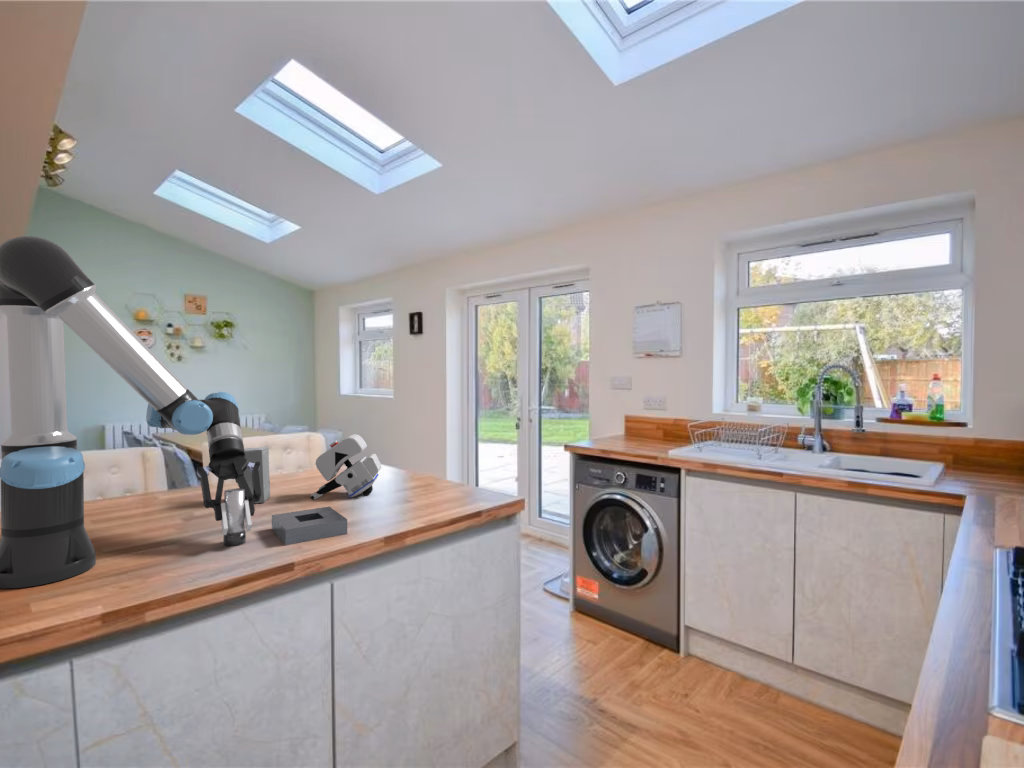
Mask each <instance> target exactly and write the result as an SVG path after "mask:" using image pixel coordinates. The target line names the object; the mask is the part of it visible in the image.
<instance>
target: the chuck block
mask: <svg viewBox="0 0 1024 768" xmlns="http://www.w3.org/2000/svg"><path fill="white" fill-rule="evenodd" d="M271 530H272V531H273V532H274V533H275V535H276V536H277V537H278V538H279V539H280V540H281V542H282V543H283V544H284V546H288V545H293V544H299V543H300V544H301V543H304V542H310V541H316V540H320V538H322V539H327V538H331V536H332V537H337V536H342V535H348V519H347V518H346V517H345V516H343V515H342V514H341V513H339V512H337V510H335V509H333V508H332V507H330V506H324V507H315V508H310V509H303V510H298V511H290V512H284V513H278V514H277V513H275V514H271ZM326 537H327V538H326ZM315 539H316V540H315Z"/></svg>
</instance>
